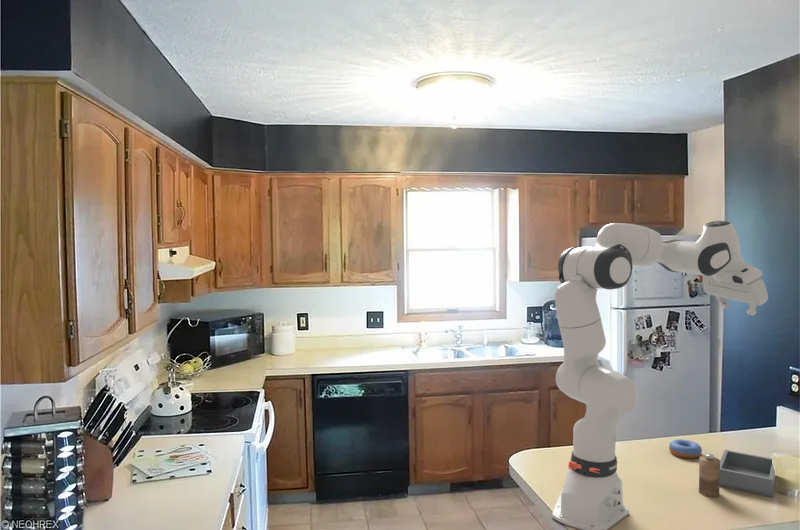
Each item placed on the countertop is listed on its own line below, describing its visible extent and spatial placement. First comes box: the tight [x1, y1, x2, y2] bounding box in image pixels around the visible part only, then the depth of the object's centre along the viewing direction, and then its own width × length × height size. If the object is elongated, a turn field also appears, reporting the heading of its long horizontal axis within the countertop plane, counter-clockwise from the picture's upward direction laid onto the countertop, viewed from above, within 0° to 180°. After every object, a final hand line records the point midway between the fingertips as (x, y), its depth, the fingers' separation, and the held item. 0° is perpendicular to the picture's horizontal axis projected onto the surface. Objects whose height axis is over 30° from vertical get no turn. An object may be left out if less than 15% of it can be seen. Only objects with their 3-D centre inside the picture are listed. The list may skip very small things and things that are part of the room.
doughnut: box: [668, 439, 703, 460], centre depth 196 cm, size 10×10×5 cm
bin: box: [719, 449, 776, 498], centre depth 175 cm, size 18×14×5 cm
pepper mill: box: [698, 453, 721, 498], centre depth 166 cm, size 5×5×11 cm
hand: (738, 311), depth 178 cm, fingers open, 8 cm apart
